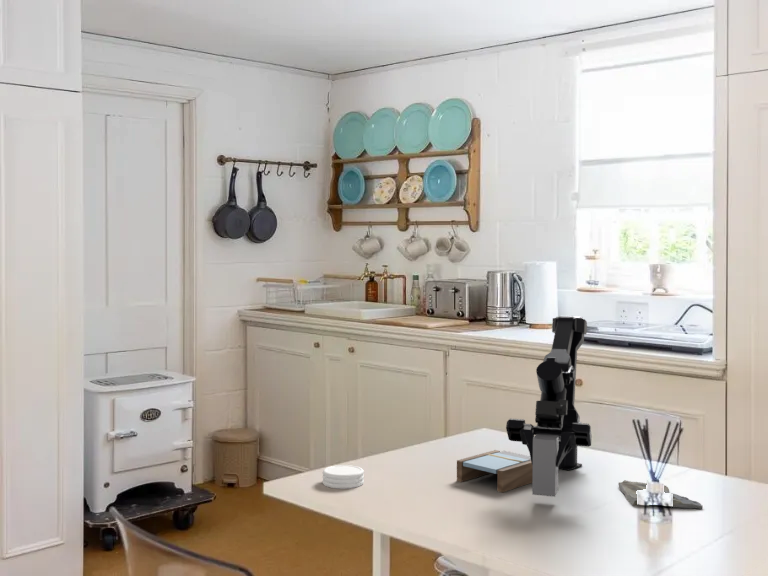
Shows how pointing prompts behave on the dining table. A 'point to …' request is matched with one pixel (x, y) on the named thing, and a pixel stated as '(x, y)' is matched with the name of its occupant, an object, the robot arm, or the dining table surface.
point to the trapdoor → (496, 461)
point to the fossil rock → (678, 501)
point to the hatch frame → (499, 473)
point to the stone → (545, 465)
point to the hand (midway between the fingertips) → (544, 464)
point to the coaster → (343, 476)
